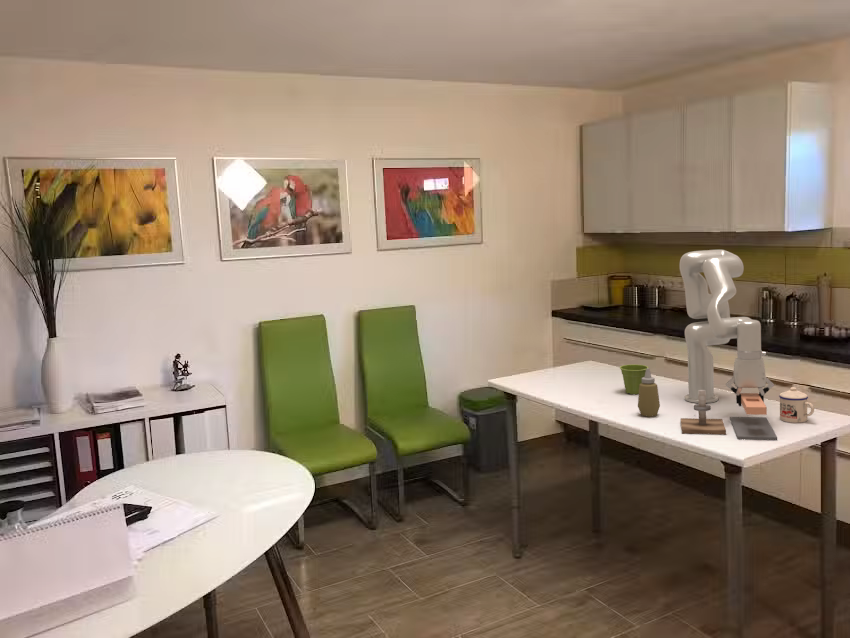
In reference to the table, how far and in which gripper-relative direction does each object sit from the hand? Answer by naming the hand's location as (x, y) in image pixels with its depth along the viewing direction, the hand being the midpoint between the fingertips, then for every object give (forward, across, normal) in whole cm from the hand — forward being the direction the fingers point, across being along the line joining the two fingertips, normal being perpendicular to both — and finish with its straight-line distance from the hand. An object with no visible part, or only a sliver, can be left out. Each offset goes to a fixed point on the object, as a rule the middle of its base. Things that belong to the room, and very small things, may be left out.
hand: (750, 405), depth 250 cm
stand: (+7, +16, +7) cm, 19 cm away
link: (-1, 0, +7) cm, 7 cm away
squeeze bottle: (+7, +34, -9) cm, 36 cm away
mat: (+7, 0, +7) cm, 10 cm away
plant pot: (+6, +40, -44) cm, 60 cm away
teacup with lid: (+7, -16, -5) cm, 18 cm away
